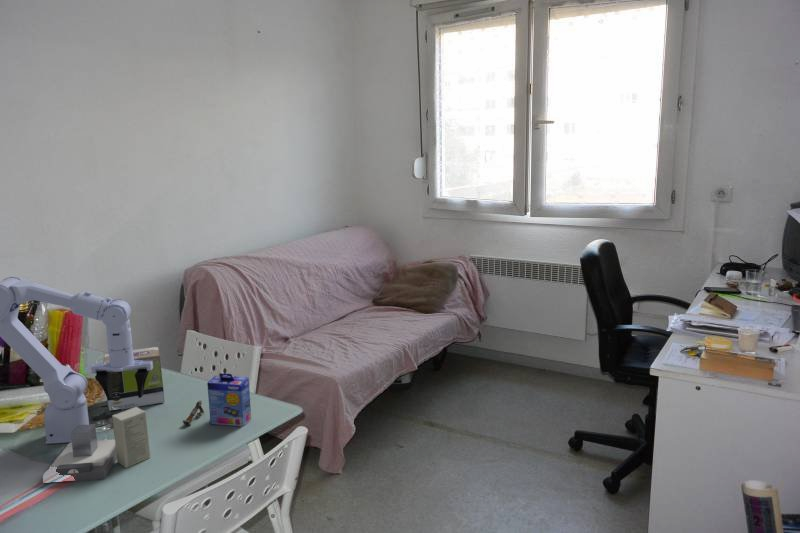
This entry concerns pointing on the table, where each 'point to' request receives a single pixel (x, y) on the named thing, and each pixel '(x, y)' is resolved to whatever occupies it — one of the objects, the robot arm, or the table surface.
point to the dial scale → (87, 462)
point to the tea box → (127, 385)
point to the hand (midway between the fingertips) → (125, 397)
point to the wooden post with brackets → (188, 420)
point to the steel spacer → (84, 440)
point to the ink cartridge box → (229, 400)
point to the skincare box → (131, 436)
